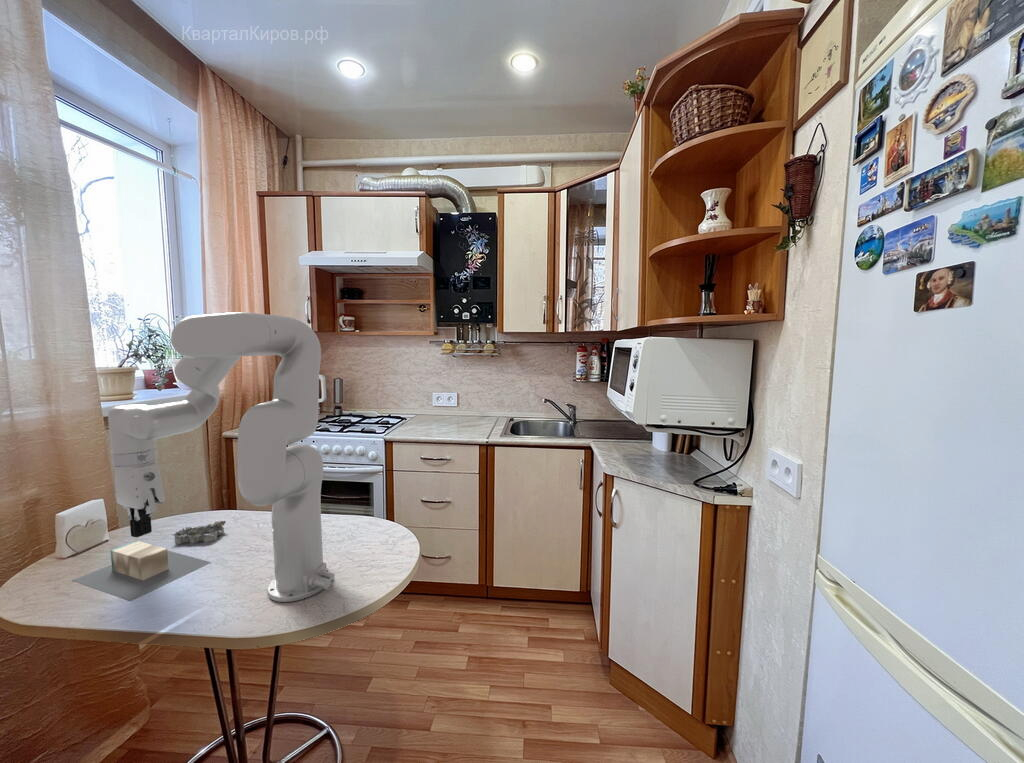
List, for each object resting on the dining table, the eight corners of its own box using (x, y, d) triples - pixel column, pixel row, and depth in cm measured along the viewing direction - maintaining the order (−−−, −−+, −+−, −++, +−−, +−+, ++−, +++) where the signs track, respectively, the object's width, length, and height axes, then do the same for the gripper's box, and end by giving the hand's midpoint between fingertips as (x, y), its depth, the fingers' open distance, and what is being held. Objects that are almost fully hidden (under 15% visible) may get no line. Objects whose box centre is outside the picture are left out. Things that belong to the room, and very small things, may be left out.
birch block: (167, 548, 94) (136, 540, 98) (141, 559, 89) (110, 550, 93) (168, 568, 94) (138, 559, 99) (143, 580, 90) (112, 570, 94)
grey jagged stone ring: (228, 533, 114) (228, 520, 114) (211, 546, 107) (210, 532, 107) (190, 534, 114) (189, 521, 113) (169, 547, 106) (168, 533, 106)
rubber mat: (211, 564, 97) (211, 562, 97) (130, 603, 82) (130, 601, 82) (155, 549, 105) (155, 547, 105) (72, 582, 90) (72, 580, 90)
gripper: (174, 456, 92) (180, 532, 94) (135, 451, 97) (141, 523, 99) (134, 465, 85) (141, 547, 87) (95, 459, 90) (102, 536, 92)
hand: (141, 534), depth 93 cm, fingers closed
